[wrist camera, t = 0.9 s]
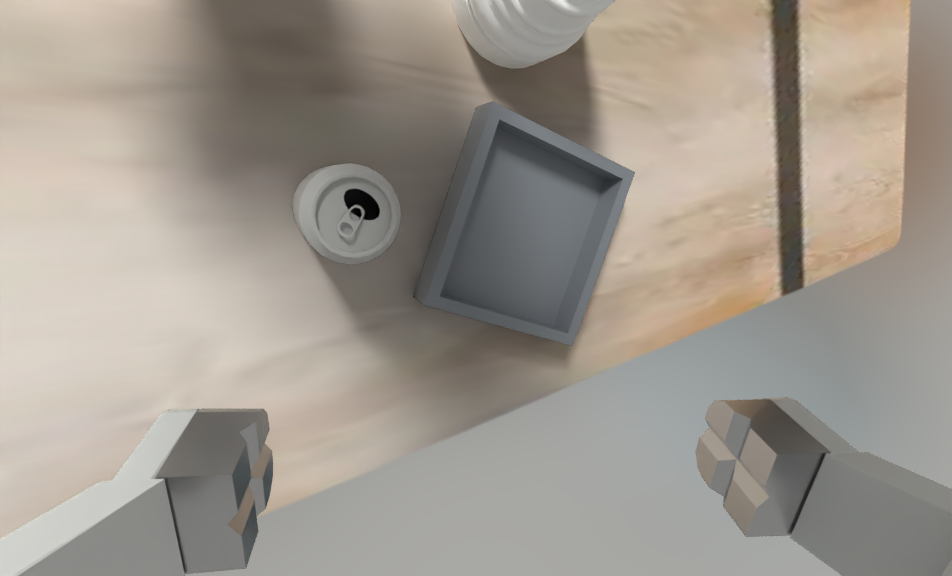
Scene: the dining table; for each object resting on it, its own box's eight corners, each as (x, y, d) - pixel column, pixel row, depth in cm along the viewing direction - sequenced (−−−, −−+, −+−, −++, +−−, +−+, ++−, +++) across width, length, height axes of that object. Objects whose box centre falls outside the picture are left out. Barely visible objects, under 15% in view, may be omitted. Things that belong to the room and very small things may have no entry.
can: (390, 199, 48) (426, 205, 37) (344, 263, 48) (367, 287, 37) (323, 149, 45) (342, 139, 34) (274, 216, 45) (277, 227, 34)
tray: (476, 107, 50) (492, 101, 46) (611, 172, 57) (635, 172, 54) (413, 296, 51) (424, 305, 47) (553, 335, 59) (572, 346, 55)
